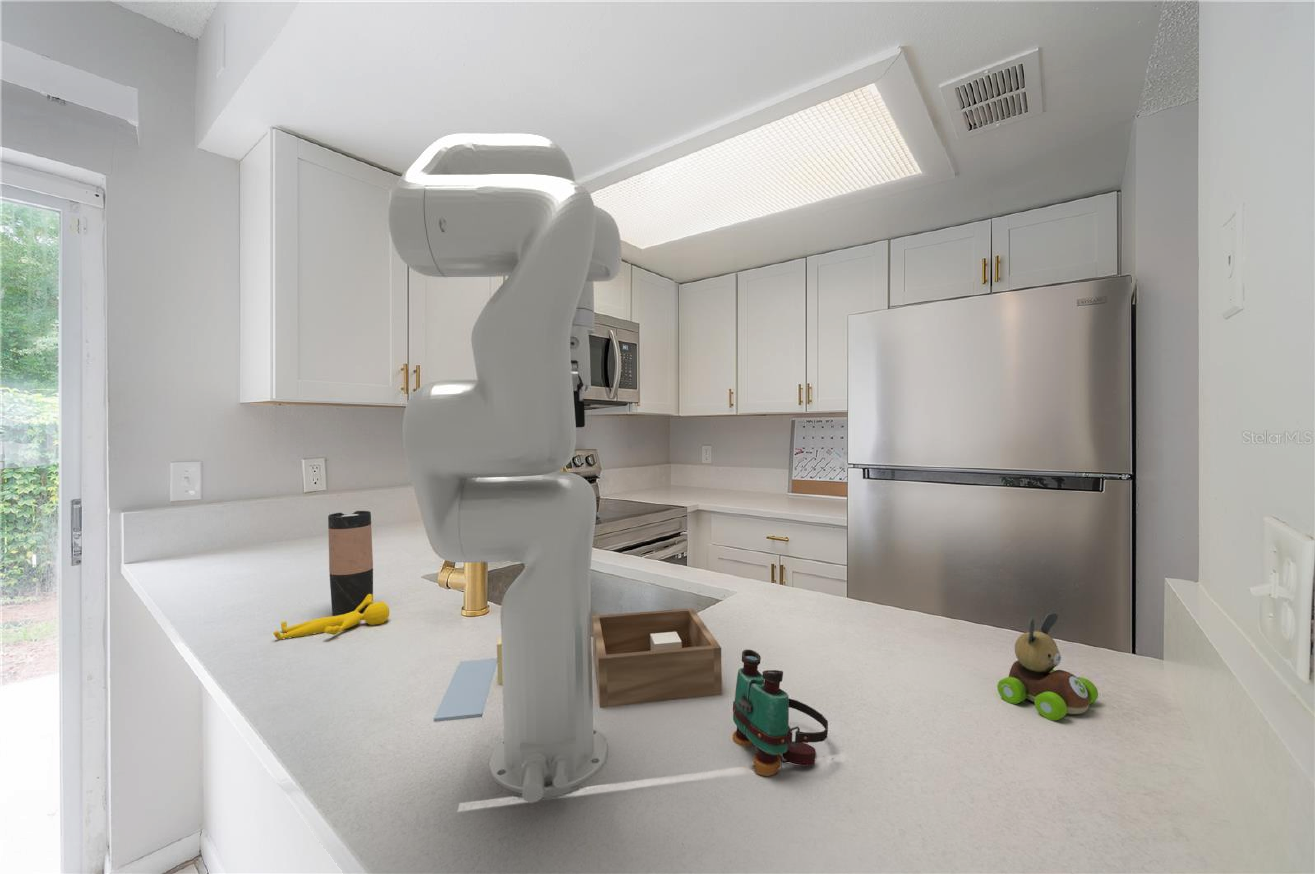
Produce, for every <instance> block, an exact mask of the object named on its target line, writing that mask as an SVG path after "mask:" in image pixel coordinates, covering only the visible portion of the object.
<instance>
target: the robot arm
mask: <svg viewBox="0 0 1315 874" xmlns="http://www.w3.org/2000/svg"><path fill="white" fill-rule="evenodd" d="M594 203H595V202H594V200H593V198H592V196H591V193H590V192H589V191H588V189H587V188H586V187H584V186H583V185H581V184H580V183H579V182H577V181H576V178H575V174H574V170H573V166H572V163H571V161H570V159H569V157H568V155H567V154H566V152H565V151H564V150H563V149H562V147H560V146H559V145H558V143H556V142H554V141H553V140H552V139H549V138H547V137H544V136H541V135H536V134H531V133H453V134H448V135H446V136H443V137H440V138H439V139H437V140H435V141H434V142H432V143H430V145H429V146H427V147H426V148H425V149H423V151H422V152H421V153H420V154H419V155H418V157H417V158H416V159H415V160H414V161H413V162H412V163H411V165H409V167H408V168H407V169H406V170H405V171H404V173H402V174H401V176H400V177H399V179H398V180H397V183H396V184H395V186H394V188H393V190H392V193H391V197H390V201H389V205H388V206H389V208H388V228H389V233H390V236H391V241H392V244H393V245H394V248H395V251H396V252H397V255H398V256H399V258H400V259H401V260H402V261H403V262H404V263H405V265H407V266H408V267H409V268H410V269H412V271H414V272H416V273H417V274H418V273H419V274H420V275H423V276H427V277H432V278H496V277H497V278H498V277H502V278H503V277H507V278H506V279H505V280H504V282H502V284H501V285H500V286H499V287H498V289H496V291H495V292H494V293H493V295H492V296H491V297H490V298H489V300H488V301H487V302H486V304H485V305H484V307H483V308H482V310H481V312H480V314H479V315H478V317H477V319H476V321H475V323H474V326H473V327H472V331H471V338H470V340H471V349H472V354H473V355H472V356H473V360H474V366H475V373H476V378H477V379H449V380H448V379H447V380H446V379H445V380H438V381H432V382H428V383H426V384H424V385H421V386H420V387H419V388H417V389H416V390H415V391H414V392H413V393H412V395H411V396H410V397H409V399H408V401H407V403H406V406H405V409H404V413H403V421H402V441H403V442H402V444H403V445H402V446H403V451H404V456H405V460H406V464H407V468H408V472H409V475H410V479H411V483H412V486H413V489H414V493H415V497H416V500H417V504H418V507H419V508H418V509H419V511H420V515H421V519H422V523H423V527H424V529H425V532H426V536H427V538H428V542H429V544H430V546H431V547H432V548H431V549H432V550H433V552H435V554H436V556H438V557H439V558H440V559H442V560H444V561H448V562H451V563H463V564H464V563H497V562H502V563H503V562H510V563H522V564H524V568H523V571H521V573H520V574H518V576H517V577H516V578H515V579H514V581H513V582H512V583H511V585H510V586H509V587H508V588H507V590H506V592H505V593H504V596H503V599H502V602H501V606H500V632H501V633H500V636H501V641H502V679H503V684H502V705H503V707H502V711H503V715H502V716H503V739H502V740H501V741H500V742H498V744H497V746H495V748H494V749H493V750H492V753H491V755H490V757H489V762H488V763H489V764H488V766H489V767H488V769H489V773H490V775H491V777H492V779H493V780H494V781H495V782H496V783H497V784H498V785H499V786H501V787H503V788H504V789H507V790H508V791H512V792H515V793H521V794H517V795H514V797H516V798H519V799H520V798H521V799H523V800H524V801H525V802H527V803H529V804H534V803H537V802H538V801H540V800H541V799H550V798H551V799H552V798H557V797H561V796H563V795H567V794H571V793H573V792H574V791H578V790H580V789H581V788H583V786H579V787H576V786H578V785H580V784H582V783H584V782H586V781H588V780H589V779H590V778H592V777H593V776H595V775H596V774H597V773H598V772H599V771H600V769H602V767H603V766H604V764H605V763H606V761H607V758H608V755H609V745H608V744H609V743H608V742H607V739H606V737H605V736H604V735H603V733H602V732H601V731H599V730H598V729H597V728H595V727H594V704H593V702H594V701H593V700H594V699H593V696H594V695H593V663H592V662H593V661H592V660H593V659H592V657H593V656H592V654H593V650H592V619H591V618H592V615H591V608H592V607H591V573H592V572H591V570H592V569H591V568H592V556H593V555H592V554H593V545H594V537H595V530H596V522H597V521H596V520H597V509H598V508H597V496H596V493H595V490H594V488H593V486H592V485H591V483H590V482H589V481H588V480H586V479H585V478H584V477H583V476H581V475H579V474H577V473H573V472H569V471H564V470H563V469H565V467H567V465H569V463H571V461H572V458H573V456H574V455H575V450H576V446H577V445H576V444H577V430H576V429H577V428H584V427H585V425H586V423H585V422H586V417H585V416H586V415H585V414H586V413H585V401H584V396H583V395H584V394H583V393H584V392H585V394H587V393H589V391H591V389H592V384H591V383H592V382H591V379H592V378H591V377H592V376H591V353H590V352H591V351H590V349H591V348H590V338H589V336H590V335H594V334H595V331H596V330H595V297H594V295H595V294H594V291H595V290H594V288H595V287H594V282H595V283H597V282H609V281H612V280H614V279H615V278H616V277H617V276H619V272H620V270H621V266H622V258H623V256H622V253H623V252H622V244H621V243H622V241H621V236H620V235H621V234H620V231H619V227H618V225H617V222H616V220H615V218H614V217H613V215H611V214H610V213H609V212H607V211H606V210H605V209H603V208H601V207H599V206H597V205H596V204H594ZM583 390H584V391H583ZM562 470H563V471H562Z"/></svg>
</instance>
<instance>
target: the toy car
mask: <svg viewBox="0 0 1315 874" xmlns="http://www.w3.org/2000/svg"><path fill="white" fill-rule="evenodd" d="M1058 618H1059V616H1058V614H1057V613H1056V612H1055V611H1053V612H1050V613H1048V614H1047V615H1046V616H1045V618H1044V620H1042V623H1041V625H1040V631H1035V620H1034V619H1033V618H1030V619H1029V622H1028V631H1026V632H1024V633H1022V634H1021V635H1020V636H1018V638H1017V639H1016V641H1015V644H1014V654H1015V657H1016V659H1017V660H1016V661H1014V662H1013V664H1012V665H1011V668H1010V669H1009V674H1008V676H1007V677H1004V678H1002V679H999V681H998V682H997V692H998V694H999V695H1000V696H1001V698H1002V699H1003V700H1004V701H1005V702H1007V703H1009V704H1012V705H1018V704H1019V703H1020V704H1021V703H1022V702H1024V701H1025V700H1028V701H1030V702H1033V703H1034V706H1035V709H1036V711H1037V712H1038V713H1039V714H1040V715H1041V716H1042V717H1043V718H1045V719H1048V721H1058V720H1061V719H1062V718H1064V717H1065V716H1066V715H1080V714H1084V713H1086V711H1088V709H1089V707H1090V705H1091V704H1092V703H1095V702H1096V700H1097V699H1098V697H1099V690H1098V688H1097V687H1096V685H1095V684H1094V683H1093V682H1092V681H1091V680H1089V679H1088V678H1085V677H1082V676H1081V677H1080V676H1078V677H1077V676H1076V675H1074V674H1073V673H1072V672H1068V671H1066V670H1062V669H1056V670H1055V668H1056V667H1057V666H1059V665H1060V663H1061V661H1062V655H1061V652H1060V651H1059V649H1058V645H1057V643H1056V642H1055V639H1053V638H1052V636H1051V635H1048V634H1049V632H1050V630H1051V629H1052V627H1053V626H1054V625H1055V624H1056V623H1057V621H1058Z"/></svg>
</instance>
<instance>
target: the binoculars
mask: <svg viewBox="0 0 1315 874" xmlns="http://www.w3.org/2000/svg"><path fill="white" fill-rule="evenodd" d="M761 660H762V658H761V655H760V653H758V652H757V651H755V650H753V649H744V650H742V652H741V663H742V664H743V665H742V666H743V667H741V668H739V669H738V671H737V677H736V684H735V685H736V686H735V692H734V693H735V694H734V701H733V702H732V703H733V704H732V714H733V715H732V720H733V722H734V724H735V725H736V730H735V731H734V732H733V733H732V741H733V742H734V744H736V745H738V746H741V747H750V746H753V745H754V746H755V747H756V748H757V752H756V753H754V755H753V759H752V760H753V764H752V767H753V770H754V772H755V773H757V774H758V775H761V776H772V775H775V774H776V773H778V771H779V770H780V768H781V763H783V764H784V763H785V764H786V763H790V764H792V765H797V766H802V767H806V766H807V767H810V766H814V765H815V764H816V752H817V751H816V749H815V748H814V747H813V746H812V745H810V744H809V743H821V742H824V741H825V740H826V739H828V732H829V721H828V720H827V718H826V717H825V716H824V715H823V714H822V713H820V712H819V711H817V710H816V709H815V708H813V707H811V706H809V705H807V704H805V703H803V702H801V701H799V700H796V699H792V698H789V694H788V693H787V692H786V691H784V690H783V689H782V688H780V686H781V685H780V684H781V682H782V681H783V678H784V677H783V676H784V671H783V670H776V669H772V670H771V669H770V670H769V669H768V670H763V671H762V673H761V672H760V671H759V670H758V667H759V665H761ZM790 709H794V710H796V711H798V712H801V713H803V714H805V715H807V716H809V717H811V718H812V719H814V720H815V721H817V722H818V723H819V724H821V726H822V727H823V728H824V730H822V731H816V732H812V731H811V732H810V731H807V732H805V731H800V726H798V725H797V726H794V727H792V728H791V727H790V726H789V725H790V724H789V719H790V718H789V717H790V713H789V711H790ZM794 730H796V731H795V738H794V740H793V731H794ZM783 759H784V760H783Z"/></svg>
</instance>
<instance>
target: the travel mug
mask: <svg viewBox="0 0 1315 874" xmlns="http://www.w3.org/2000/svg"><path fill="white" fill-rule="evenodd" d="M327 522H328V524H327V526H328V528H327V529H328V531H327V532H328V565H329V566H328V571H329V586H330V587H329V589H330V601H331V614H332V616H338V615H343V614H347V613H350V612H352V611H355V610H356V608H357V607H358V606H359V605H360V604H361V603H362V602H363V601H364V599H365V598H366V596H367V595H368V594H372V595H373V596H374V560H373V559H374V558H373V537H372V535H373V534H372V533H373V532H372V512H371V511H368V510H355V511H354V512H353V513H348V514H345V513H343V512H334V513H330V514H329V515H328V516H327ZM372 600H373V601H374V598H373V599H372ZM369 605H370V604H369ZM369 605H366V606H364V607H363V608H362V609H361V610H360V611H359V613H360V614H362V613H364V611H365V609H366V608H367V607H368V606H369Z"/></svg>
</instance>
